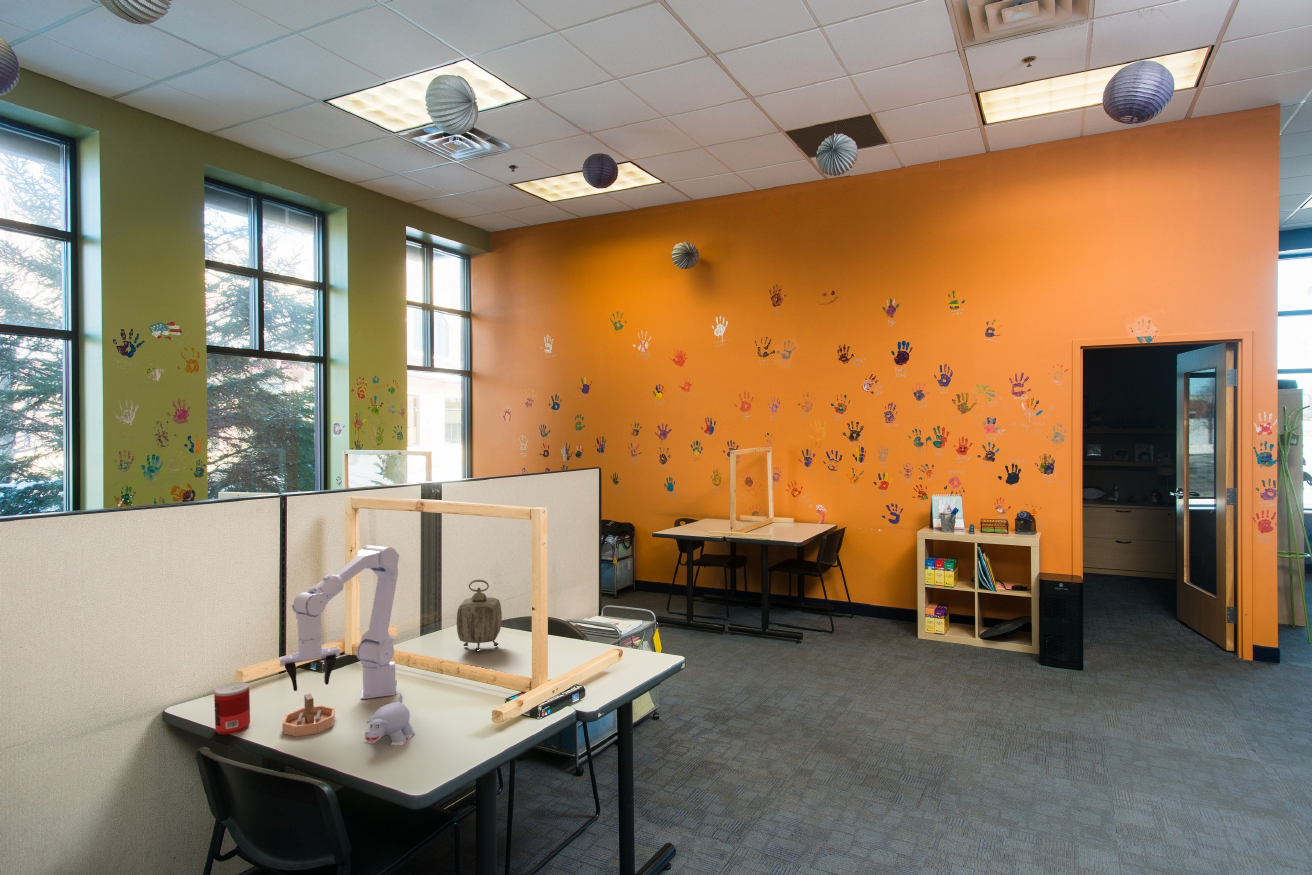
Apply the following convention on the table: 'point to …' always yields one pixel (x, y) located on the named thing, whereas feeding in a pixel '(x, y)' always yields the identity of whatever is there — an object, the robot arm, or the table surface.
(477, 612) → the tabletop clock
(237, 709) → the canned food
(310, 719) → the brown rectangular block
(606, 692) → the table surface
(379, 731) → the hippopotamus toy
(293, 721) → the dish
